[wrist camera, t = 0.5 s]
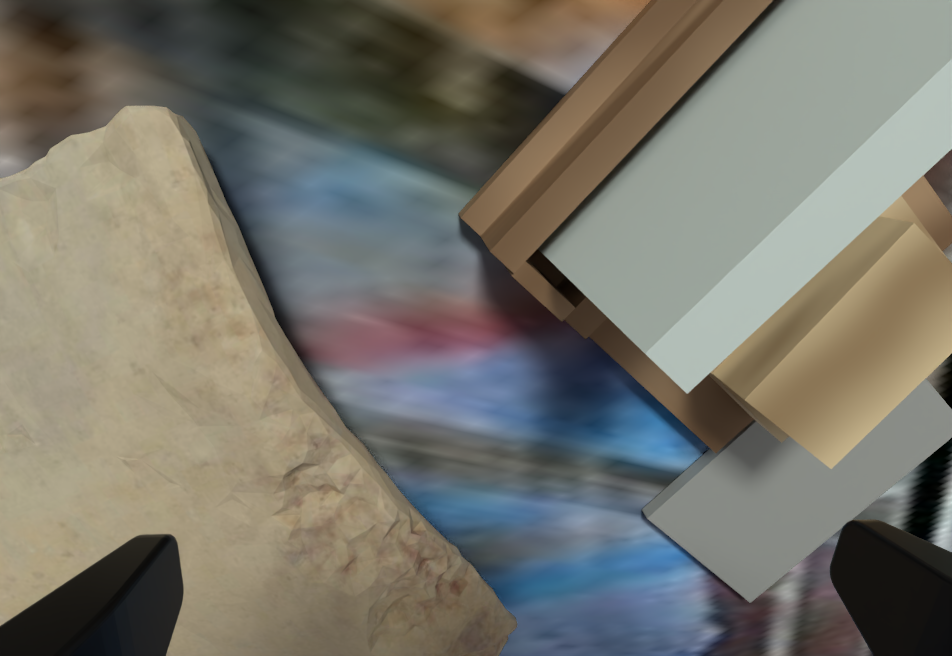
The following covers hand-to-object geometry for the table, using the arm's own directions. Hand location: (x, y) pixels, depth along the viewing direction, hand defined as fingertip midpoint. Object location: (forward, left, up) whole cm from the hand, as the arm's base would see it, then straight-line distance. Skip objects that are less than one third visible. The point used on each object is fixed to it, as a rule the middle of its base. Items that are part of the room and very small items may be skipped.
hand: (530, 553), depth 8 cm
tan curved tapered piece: (+3, +14, -14) cm, 20 cm away
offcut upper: (-10, -7, -11) cm, 16 cm away
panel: (-1, -8, -13) cm, 15 cm away
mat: (-17, -4, -14) cm, 22 cm away
